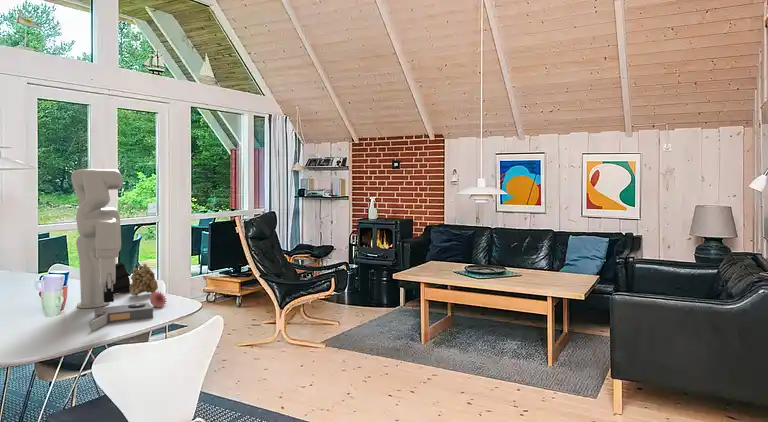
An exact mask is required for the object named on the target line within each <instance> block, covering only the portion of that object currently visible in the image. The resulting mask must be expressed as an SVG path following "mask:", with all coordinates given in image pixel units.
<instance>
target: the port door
mask: <svg viewBox="0 0 768 422" xmlns="http://www.w3.org/2000/svg"><path fill="white" fill-rule="evenodd" d="M89 323H90V327H89V329H90V331H91V332H92V331H95V330H97V329H99V328H101V327H103V326H106V325H108V324H109V323H108V315H107V314H104V315H103V316H101V317H99V318H97V319H95V318H94V319H93V320H91V321H90V322H89Z"/></svg>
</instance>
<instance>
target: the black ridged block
mask: <svg viewBox="0 0 768 422" xmlns="http://www.w3.org/2000/svg"><path fill="white" fill-rule="evenodd" d="M115 267H116V277H115V284H113V291H114V295H116V293H119V294H127V293H126V292H128V293H130V289H129V288H130V284H131V281H130V280H131V279H130V277H129V276H130V274H129V272H128V271H127V268H126V267H125V263H123V262H122V261H119V262H116V263H115Z"/></svg>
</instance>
